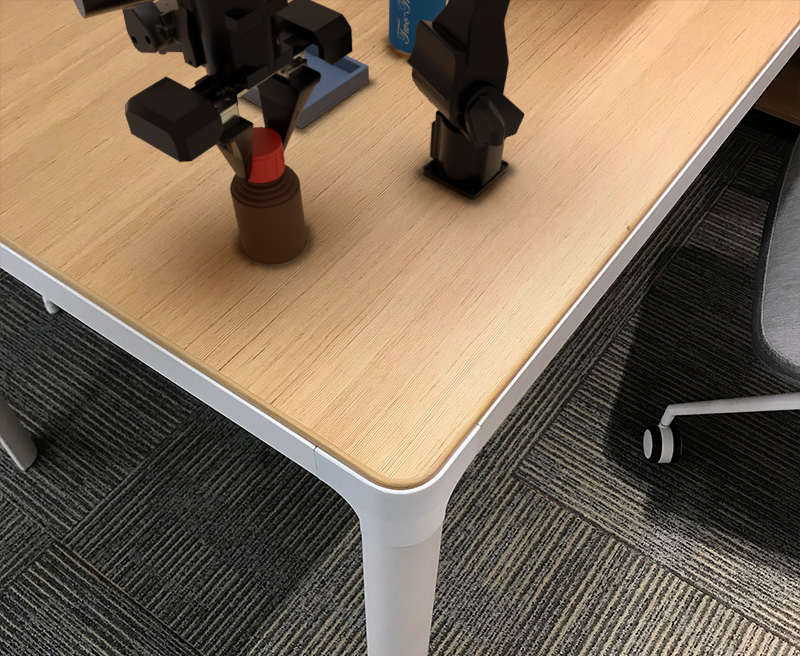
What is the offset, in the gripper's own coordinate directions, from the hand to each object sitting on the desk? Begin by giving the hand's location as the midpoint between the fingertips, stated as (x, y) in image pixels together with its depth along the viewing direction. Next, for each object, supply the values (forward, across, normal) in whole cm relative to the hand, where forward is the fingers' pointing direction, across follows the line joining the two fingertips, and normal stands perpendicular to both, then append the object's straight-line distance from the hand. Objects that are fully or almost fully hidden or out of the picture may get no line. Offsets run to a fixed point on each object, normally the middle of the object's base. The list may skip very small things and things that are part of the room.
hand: (260, 166), depth 65 cm
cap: (-2, 0, 0) cm, 2 cm away
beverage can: (+9, -35, -10) cm, 37 cm away
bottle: (+8, 0, 0) cm, 8 cm away
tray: (+9, -20, -16) cm, 27 cm away
